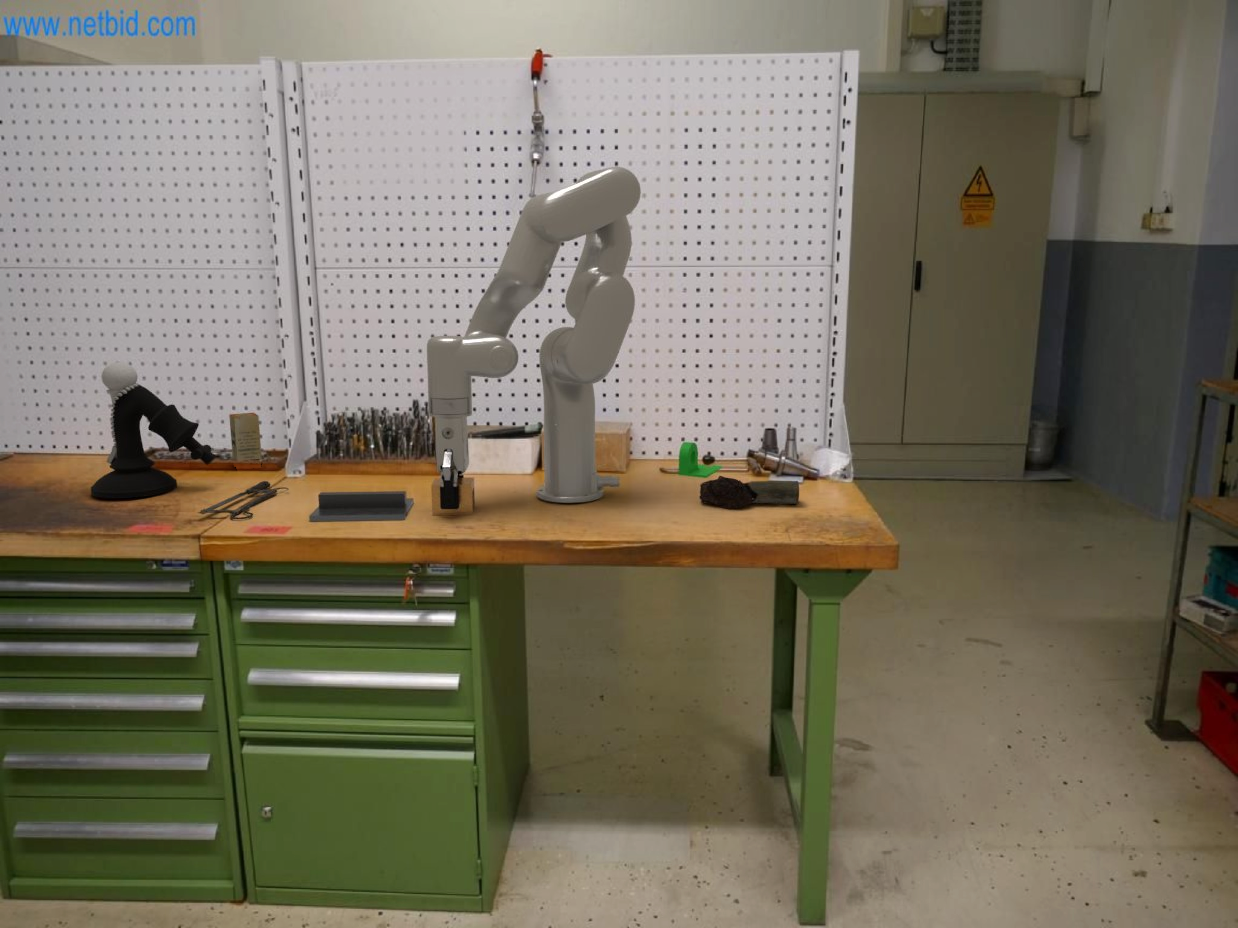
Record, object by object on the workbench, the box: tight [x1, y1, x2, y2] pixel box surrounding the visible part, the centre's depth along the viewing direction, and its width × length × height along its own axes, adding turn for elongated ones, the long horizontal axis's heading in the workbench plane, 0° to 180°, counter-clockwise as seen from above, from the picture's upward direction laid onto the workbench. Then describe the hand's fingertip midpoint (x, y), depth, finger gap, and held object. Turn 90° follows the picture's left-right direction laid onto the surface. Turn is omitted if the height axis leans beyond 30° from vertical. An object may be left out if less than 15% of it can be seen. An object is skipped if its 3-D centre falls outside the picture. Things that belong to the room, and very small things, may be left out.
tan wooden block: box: [430, 476, 476, 516], centre depth 170 cm, size 7×6×6 cm
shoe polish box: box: [228, 412, 263, 461], centre depth 204 cm, size 5×5×12 cm
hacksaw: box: [197, 480, 289, 520], centre depth 175 cm, size 24×10×1 cm, turn 171°
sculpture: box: [90, 361, 217, 499], centre depth 184 cm, size 15×24×25 cm, turn 92°
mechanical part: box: [678, 441, 723, 479], centre depth 198 cm, size 12×6×8 cm, turn 154°
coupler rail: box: [308, 490, 415, 522], centre depth 169 cm, size 16×12×4 cm
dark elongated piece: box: [698, 475, 800, 510], centre depth 172 cm, size 18×7×6 cm, turn 87°
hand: (452, 502), depth 170 cm, fingers open, 8 cm apart
